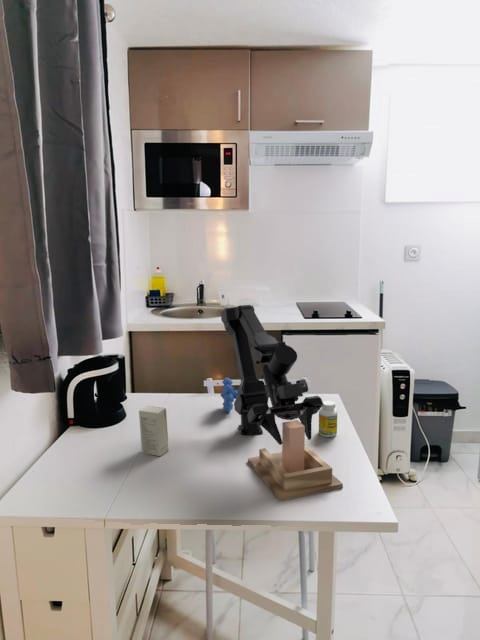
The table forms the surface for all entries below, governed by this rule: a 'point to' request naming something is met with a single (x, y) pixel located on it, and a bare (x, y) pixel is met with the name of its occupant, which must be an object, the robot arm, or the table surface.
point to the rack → (294, 475)
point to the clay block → (293, 446)
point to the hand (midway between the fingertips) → (295, 441)
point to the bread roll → (290, 415)
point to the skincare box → (153, 430)
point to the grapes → (228, 394)
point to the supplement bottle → (328, 419)
